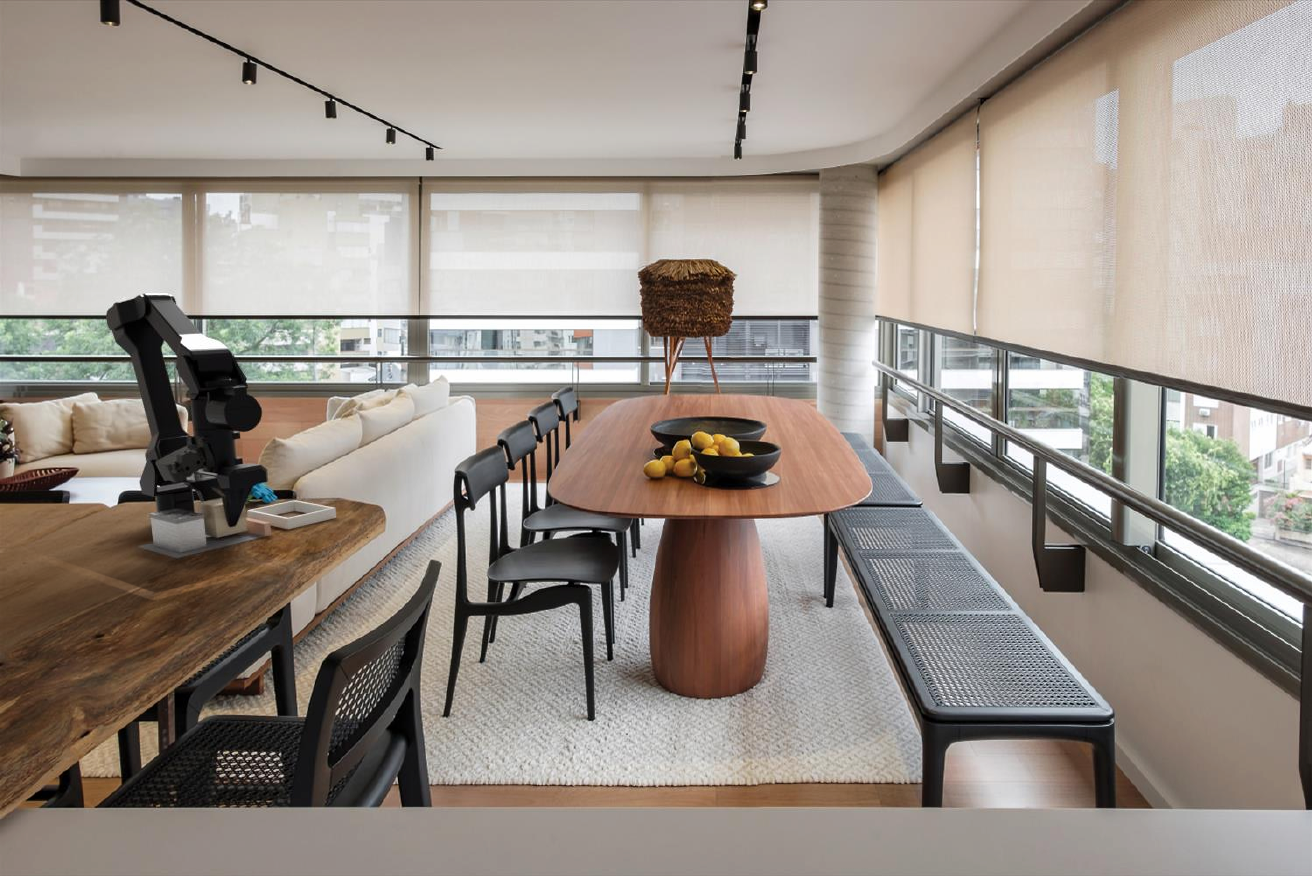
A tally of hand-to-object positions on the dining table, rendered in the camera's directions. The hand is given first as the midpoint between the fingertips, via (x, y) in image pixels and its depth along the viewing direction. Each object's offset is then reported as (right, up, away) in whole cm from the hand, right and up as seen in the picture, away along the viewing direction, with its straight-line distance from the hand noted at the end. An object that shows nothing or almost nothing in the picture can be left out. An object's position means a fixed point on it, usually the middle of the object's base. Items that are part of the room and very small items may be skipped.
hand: (223, 524), depth 141 cm
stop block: (0, -1, 0) cm, 1 cm away
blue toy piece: (-7, +1, +27) cm, 28 cm away
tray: (+6, -1, +11) cm, 13 cm away
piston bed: (-2, -3, -2) cm, 4 cm away
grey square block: (-4, -4, -5) cm, 8 cm away
